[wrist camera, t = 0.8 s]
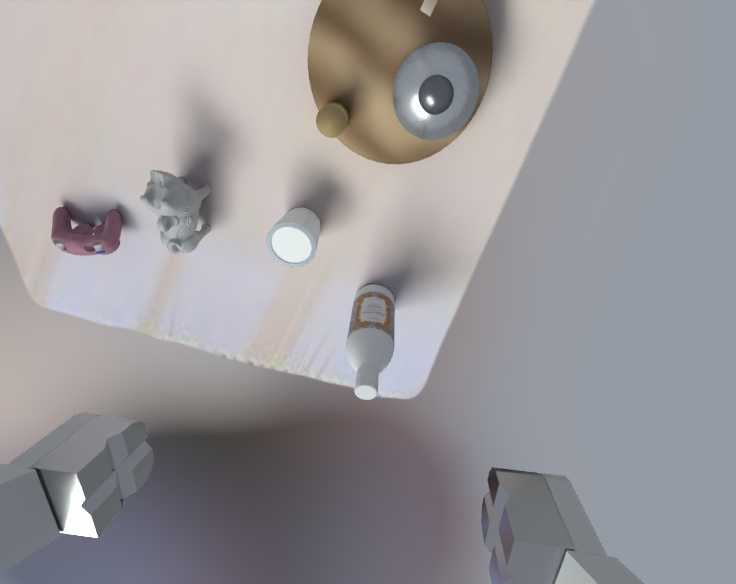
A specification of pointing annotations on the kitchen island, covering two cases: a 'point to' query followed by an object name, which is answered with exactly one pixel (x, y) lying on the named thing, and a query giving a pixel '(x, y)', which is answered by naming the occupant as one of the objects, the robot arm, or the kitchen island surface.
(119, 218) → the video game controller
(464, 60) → the cover
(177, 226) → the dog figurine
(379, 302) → the bath foam
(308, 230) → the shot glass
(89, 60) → the kitchen island surface
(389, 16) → the turntable
